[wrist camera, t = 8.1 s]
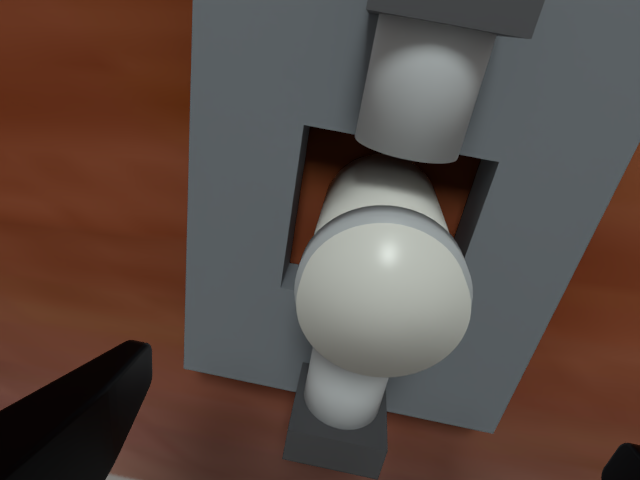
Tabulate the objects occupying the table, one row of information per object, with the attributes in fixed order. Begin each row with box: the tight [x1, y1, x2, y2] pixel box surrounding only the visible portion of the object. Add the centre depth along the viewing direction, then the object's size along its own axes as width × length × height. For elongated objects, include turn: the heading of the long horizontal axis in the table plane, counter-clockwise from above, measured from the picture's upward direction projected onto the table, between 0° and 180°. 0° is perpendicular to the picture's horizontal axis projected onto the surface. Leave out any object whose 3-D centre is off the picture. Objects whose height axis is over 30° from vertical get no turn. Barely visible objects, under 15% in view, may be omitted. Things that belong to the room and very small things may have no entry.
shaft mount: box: [184, 0, 640, 480], centre depth 15 cm, size 17×14×6 cm
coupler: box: [294, 154, 473, 378], centre depth 14 cm, size 5×5×7 cm
